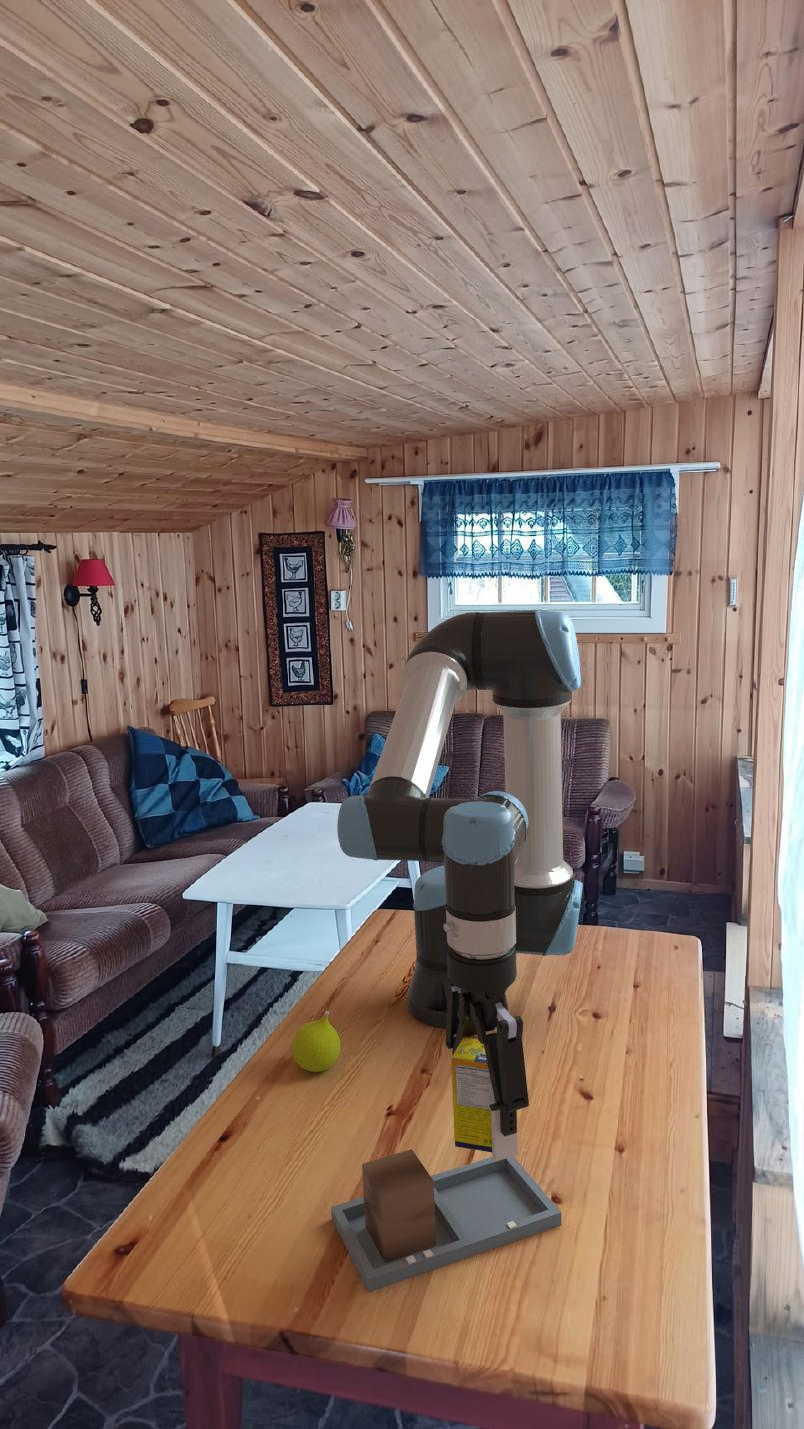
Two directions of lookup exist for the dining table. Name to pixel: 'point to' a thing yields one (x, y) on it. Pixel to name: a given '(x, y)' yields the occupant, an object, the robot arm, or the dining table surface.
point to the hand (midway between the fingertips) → (486, 1133)
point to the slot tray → (456, 1220)
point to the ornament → (316, 1045)
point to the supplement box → (472, 1096)
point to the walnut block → (399, 1205)
